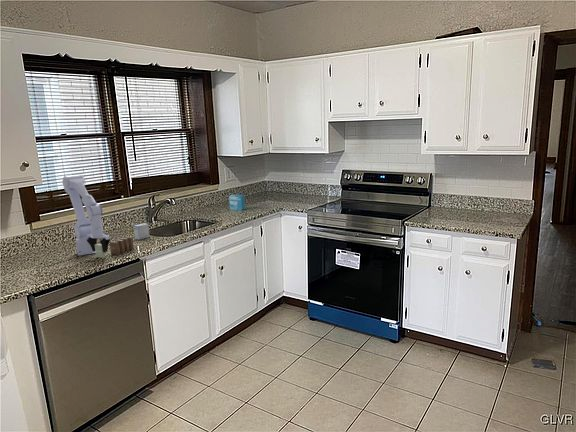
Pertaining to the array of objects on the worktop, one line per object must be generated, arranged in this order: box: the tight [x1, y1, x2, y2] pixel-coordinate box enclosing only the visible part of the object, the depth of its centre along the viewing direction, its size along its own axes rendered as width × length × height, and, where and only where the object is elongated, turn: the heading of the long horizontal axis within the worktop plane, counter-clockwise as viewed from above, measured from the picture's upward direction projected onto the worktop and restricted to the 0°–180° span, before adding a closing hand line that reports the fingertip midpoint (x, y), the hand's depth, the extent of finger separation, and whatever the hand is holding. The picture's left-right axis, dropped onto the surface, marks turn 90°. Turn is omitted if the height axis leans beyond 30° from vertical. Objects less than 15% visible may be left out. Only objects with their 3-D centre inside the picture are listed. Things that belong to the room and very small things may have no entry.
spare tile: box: [95, 243, 106, 259], centre depth 236 cm, size 2×5×7 cm, turn 67°
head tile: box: [123, 235, 135, 250], centre depth 250 cm, size 2×5×7 cm, turn 67°
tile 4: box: [109, 240, 121, 256], centre depth 241 cm, size 2×5×7 cm, turn 67°
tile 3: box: [114, 239, 126, 254], centre depth 244 cm, size 2×5×7 cm, turn 67°
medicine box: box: [133, 222, 150, 240], centre depth 273 cm, size 8×4×9 cm, turn 141°
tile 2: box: [118, 237, 130, 252], centre depth 247 cm, size 2×5×7 cm, turn 67°
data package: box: [228, 194, 246, 211], centre depth 352 cm, size 12×4×12 cm, turn 63°
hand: (100, 251), depth 236 cm, fingers open, 7 cm apart
